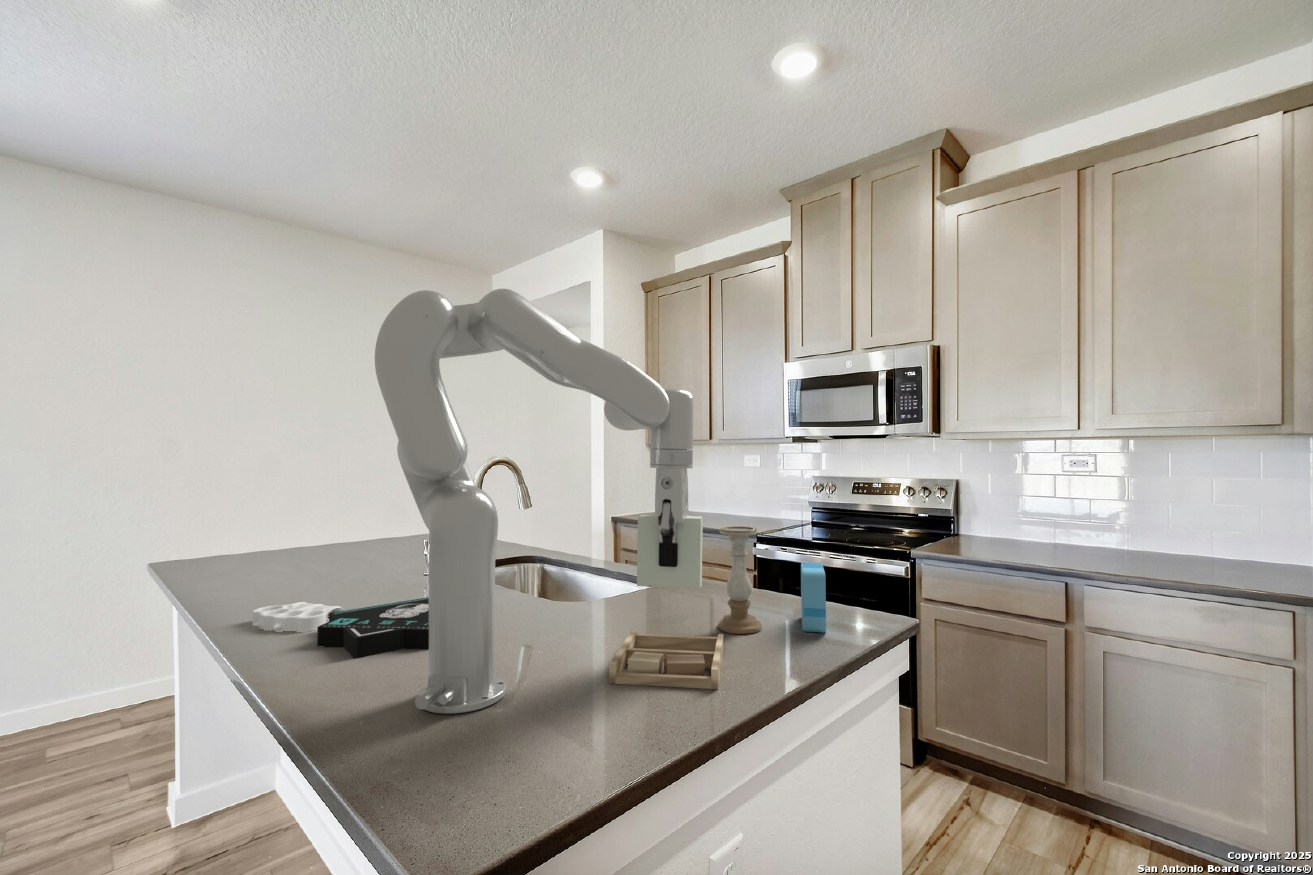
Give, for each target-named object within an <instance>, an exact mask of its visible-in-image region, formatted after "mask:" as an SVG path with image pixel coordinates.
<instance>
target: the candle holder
mask: <svg viewBox="0 0 1313 875" xmlns="http://www.w3.org/2000/svg"><path fill="white" fill-rule="evenodd" d="M719 533H720V534H721V535H725V536H727V537H728V538H727V540H728V541H729V543H730V544H731V549H730V551H729V553H728V554H729V556H731V570H730V571H731V572H730V575H729V577H728V580H727V583H726V585H725V591H726V594H727V596H728V597H729V600H728V601H727V605H728V606H729V609H730V613H727V614H725V615H724V616H722V619H720V620H719V621H718V622H717V627H718V629H719V630H720V631H722V632H725V633H728V634H735V635H736V634H737V635H747V634H754V633H758V632H759V631H761V630H762V623H761V621H759V619H757V618H756V616H754V615H753V614H749V609H750V606H751V605H752V601H751V600H749V598H750V597H751V596H752V593H753V589H754V588H753V585H752V582H751V580H750V578H749V575H748V572H747V564H746V560H747V558H746V557H747V556H749V553H748V551H747V550H746V549H747V548H746V545H747V543H748V542H749V540H750V538H749V536H754V535H757V534H758V529H757V528H756V527H753V526H741V525H738V526H736V525H735V526H734V525H733V526H732V525H731V526H724V527H720V529H719Z"/></svg>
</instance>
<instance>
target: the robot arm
mask: <svg viewBox="0 0 1313 875" xmlns="http://www.w3.org/2000/svg"><path fill="white" fill-rule="evenodd" d="M503 350H504V351H506V352H507V353H509V354H510V355H512V356H513V357H515V358H516V359H517V360H519V361H521V363H523V364H525V365H526V366H528V367H529V368H530V369H532V370H534V371H535V372H536V373H537V374H539V375H540V376H542V377H544V378H545V379H546V380H548V381H549V382H552V383H554V384H557V385H558V386H563V387H564V388H565V387H566V388H570V389H575V390H580V391H583V392H586V393H589V394H591V395H594V396H596V397H597V398H600V399H602V400H603V401H605V402H604V407H603V412H604V416H605V419H606V420H607V422H608V423H609V424H610V425H611V426H613V428H616V429H618V430H622V431H638V430H648V429H649V430H650V439H649V440H650V449H649V451H650V455H649V464H650V465H649V467H650V469H655V486H654V487H655V488H654V489H655V492H654V493H655V494H654V515H655V521H656V523H657V524H658V525H660V543H659V566H662V567H676V566H677V564H678V543H676V532H677V523H679V524H680V526H683V525H684V524H685V518H686V517H687V516H690V514H689V477H688V469H693V465H694V462H693V461H694V460H693V459H694V457H693V455H694V453H693V452H694V450H693V449H694V447H693V446H694V397H693V395H692V393H691V392H690V391H688V390H684V389H672V388H671V389H664V388H663V387H662V386H661V385H660V384H659V383H658V382H657V381H655V379H653V378H652V377H650V376H649V375H647V374H646V373H645V372H643V370H641V369H640V368H638V367H637V366H636V365H634V364H632V363H631V362H629V361H628V360H626V359H624V358H622V357H621V356H618V355H617V354H614V353H613V352H609V351H607V350H606V349H603V348H601V347H600V346H597V345H595V344H593V343H591V342H588V341H586V340H584V339H582V338H581V337H579V336H578V335H576V334H575V333H573V332H572V331H570V330H569V329H568V328H566V327H565V326H563V325H562V324H561V323H560V322H558V321H557V320H555V319H554V318H552V317H551V316H550V315H548V314H547V313H546V312H545V311H543V310H542V309H541V308H539V307H538V306H536V305H535V304H534V303H532V302H531V301H529V300H528V299H527V298H526V297H524V296H522V295H521V294H520V293H519V292H516V291H514V290H512V289H508V288H497V289H496V288H495V289H494V290H492V291H490V292H488V293H487V294H485V295H484V296H483V297H482V298H481V299H480V300H479V301H478V302H474V303H467V304H457V305H453V303H452V302H451V301H450V300H449V299H448V298H447V297H446V296H444V294H441V293H440V292H438V291H437V292H436V291H434V290H423V289H422V290H418V291H415V292H412V293H410V294H408V295H407V296H406V297H404V298H402V299H401V300H400V301H399V302H398V303H397V304H396V305H395V306H394V307H393V308H392V309H391V310H390V312H389V313H388V314H387V316H385V319H384V320H383V322H382V324H381V326H380V329H379V330H378V334H377V337H376V342H375V348H374V367H375V368H374V369H375V376H376V380H377V383H378V386H379V390H380V392H381V393H380V394H381V395H382V398H383V402H384V404H385V406H386V410H387V412H388V415H389V418H390V420H391V424H392V426H393V429H394V430H395V434H396V436H397V440H398V441H397V446H396V447H397V448H396V449H397V450H396V451H397V452H396V453H397V458H398V461H399V463H400V467H401V469H402V471H403V474H404V477H405V480H406V481H407V484H408V487H409V490H410V492H411V494H412V497H413V499H414V502H415V503H416V506H417V509H418V512H419V514H420V516H421V518H422V521H423V523H424V525H425V527H426V529H428V531H429V541H428V545H429V547H428V568H427V569H428V573H427V574H428V575H427V577H428V578H427V582H428V584H427V589H428V590H427V594H428V597H429V650H428V676H427V684H425V685H424V686H423V687H422V688H421V689H420V690H419V691H418V693H417V696H416V697H415V698H414V705H415V707H416V709H418V710H424V711H426V712H430V713H435V714H443V715H445V714H447V715H449V714H452V715H453V714H462V713H469V712H474V711H478V710H481V709H484V708H487V707H489V706H491V705H493V704H496V703H497V702H498V701H500V700H501V699H502V698H503V697H504V696H505V695H506V694H507V682H506V681H505V680H504V679H503V678H501V676H498V675H496V665H497V664H496V662H497V660H496V656H497V655H496V555H497V554H496V553H497V552H496V551H497V542H498V532H499V519H498V518H499V517H498V512H497V511H498V510H497V508H496V506H495V503H494V501H493V499H492V498H491V496H489V494H488V493H487V492H486V491H485V490H483V489H481V488H480V487H477V486H476V485H475V482H474V480H473V477H472V475H471V473H470V472H471V471H470V470H469V467H468V464H467V462H466V461H467V457H468V451H469V450H468V449H469V448H468V443H467V439H466V437H465V434H464V432H463V430H462V428H461V426H460V424H459V422H458V419H457V416H456V414H455V411H454V410H453V407H452V405H451V402H450V399H449V397H448V394H447V390H446V386H445V384H444V381H443V379H442V374H441V368H440V360H441V359H448V358H450V359H451V358H456V357H465V356H474V355H482V354H488V353H493V352H494V353H495V352H499V351H503ZM659 516H661V519H660V520H658V517H659ZM670 521H674V525H670ZM659 522H660V524H659ZM672 529H673V531H672ZM672 534H673V535H672Z"/></svg>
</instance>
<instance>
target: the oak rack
mask: <svg viewBox="0 0 1313 875" xmlns="http://www.w3.org/2000/svg"><path fill="white" fill-rule="evenodd" d="M724 636H725V635H724V634H722V633H721V634H720V633H719V634H717V636H703V635H702V636H700V635H699V636H697V635H678V634H677V635H675V634H655V633H654V634H653V633H651V634H649V633H638V631H637V630H631V631H630V632H629V634H628V635H627V637H626V638H625V640H624V641H623V643H622V645H620V648H619V649H618V651H616V654H615V655H614V656H613V658H612V659H611V661H610V662H609V664H608V668H609V669H608V671H609V672H608V682H609V683H608V684H611V683H614V685H633V686H646V687H647V686H649V687H669V688H683V689H684V688H687V689H705V690H706V689H708V690H719V685H720V678H721V672H722V665H723V658H724V653H725V651H724V650H725V646H724V645H725V642H724V641H725V640H724V638H725V637H724ZM634 652H645V653H658V654H664V667H667V655H703V656H704V661H705V669H709V670H711V671H710V672H711V675H709V676H706V675H705V676H689V675H670V674H667V673H666V674H665V673H662V674H650V673H631V672H628V671H624V670H625V668H626V666H627V665H626V664H628V659H629V658H630V657H631V655H632V654H633V653H634Z"/></svg>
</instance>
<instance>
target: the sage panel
mask: <svg viewBox="0 0 1313 875" xmlns="http://www.w3.org/2000/svg"><path fill="white" fill-rule="evenodd" d="M703 518H704V517H703V516H699V515H698V516H697V515H695V516H693V515H689V516H687V517H686V518H685V524H684V525H683V526H680V524H679V523H677V532H676V543H678V564H677V566H676V567H662V566H659V543H660V525H658V524H657V523H656V521H655V514H641V515H639V516H637V539H636V540H637V545H636V546H637V548H636V549H637V550H636V555H637V556H636V559H637V560H636V562H637V563H636V587H651V588H652V587H653V588H655V587H656V588H666V589H667V588H669V589H670V588H671V589H687V590H688V589H689V590H690V589H692V590H701V588H702V585H703V536H704V535H703V531H704V530H703V529H704V528H703V526H704V524H703V522H704V521H703V520H704V519H703ZM660 519H661V516H659V517H658V520H660ZM659 524H660V522H659ZM670 525H674V521H670ZM672 531H673V529H672ZM672 535H673V534H672Z"/></svg>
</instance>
